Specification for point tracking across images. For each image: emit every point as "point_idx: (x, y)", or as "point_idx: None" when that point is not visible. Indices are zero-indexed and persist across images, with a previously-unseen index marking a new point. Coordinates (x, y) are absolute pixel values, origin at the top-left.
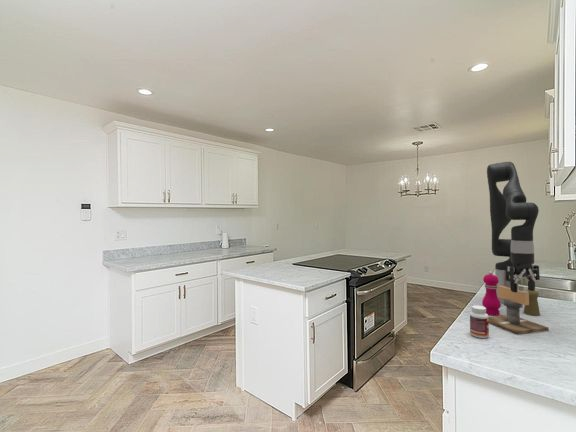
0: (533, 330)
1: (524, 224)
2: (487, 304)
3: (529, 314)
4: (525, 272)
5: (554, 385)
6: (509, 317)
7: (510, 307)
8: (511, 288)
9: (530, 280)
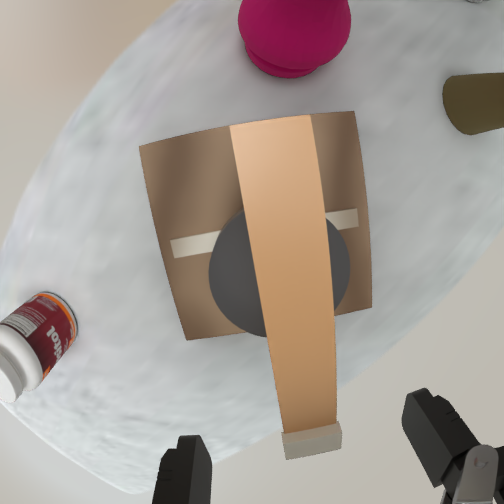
0: None
1: None
2: (245, 37)
3: (449, 114)
4: None
5: (118, 486)
6: None
7: None
8: (165, 470)
9: (453, 478)
